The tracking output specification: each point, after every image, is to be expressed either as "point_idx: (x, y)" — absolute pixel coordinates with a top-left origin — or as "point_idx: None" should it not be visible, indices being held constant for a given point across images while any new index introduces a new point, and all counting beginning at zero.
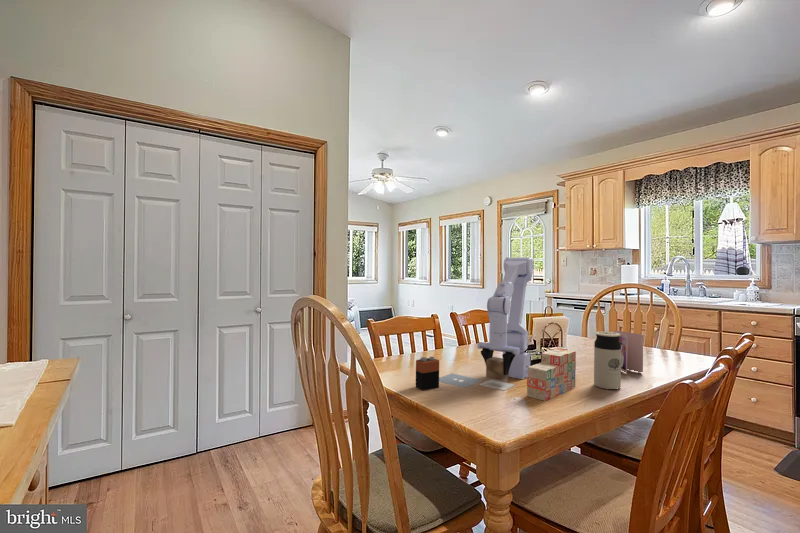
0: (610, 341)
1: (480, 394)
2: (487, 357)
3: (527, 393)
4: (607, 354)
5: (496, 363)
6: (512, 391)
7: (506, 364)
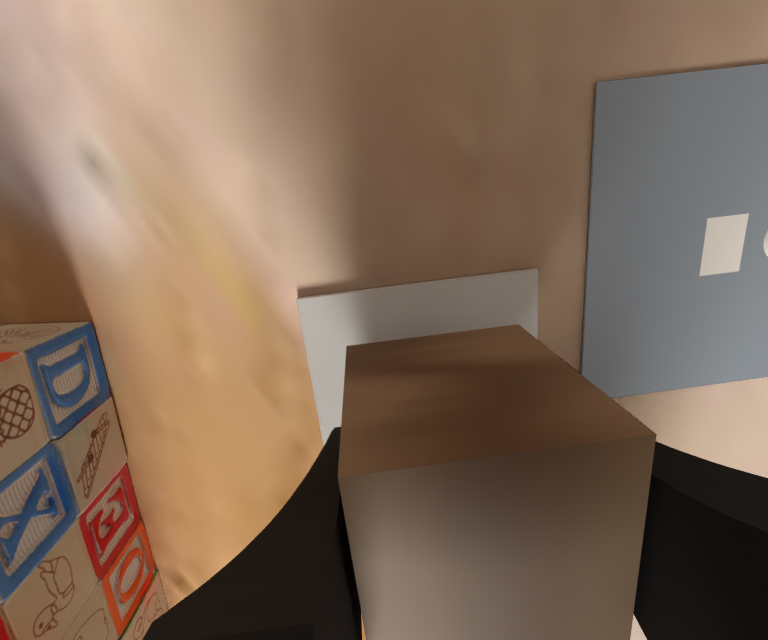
0: None
1: (381, 24)
2: (680, 505)
3: (71, 329)
4: None
5: (433, 438)
6: (250, 339)
7: (287, 510)
